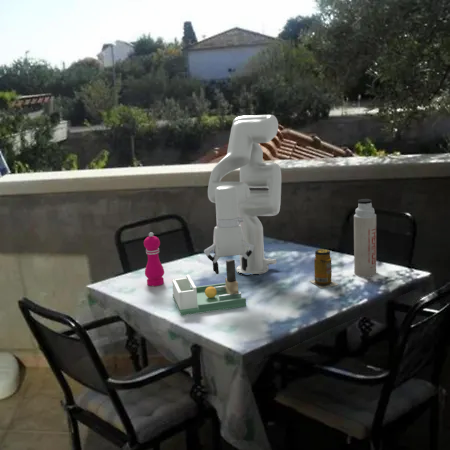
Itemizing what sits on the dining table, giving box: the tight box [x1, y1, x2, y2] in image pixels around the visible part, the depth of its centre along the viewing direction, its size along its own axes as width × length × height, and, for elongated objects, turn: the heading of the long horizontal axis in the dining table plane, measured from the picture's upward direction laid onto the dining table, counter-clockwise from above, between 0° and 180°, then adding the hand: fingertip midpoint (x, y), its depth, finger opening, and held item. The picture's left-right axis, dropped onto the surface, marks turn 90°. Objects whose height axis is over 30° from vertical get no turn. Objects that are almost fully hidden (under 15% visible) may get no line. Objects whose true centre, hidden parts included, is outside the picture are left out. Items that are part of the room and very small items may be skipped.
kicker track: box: [214, 285, 242, 301], centre depth 218 cm, size 8×10×2 cm
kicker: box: [224, 259, 239, 294], centre depth 217 cm, size 3×6×12 cm, turn 13°
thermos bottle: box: [353, 198, 377, 278], centre depth 232 cm, size 8×8×28 cm
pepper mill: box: [143, 232, 165, 287], centre depth 236 cm, size 7×7×20 cm
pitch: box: [172, 282, 247, 316], centre depth 217 cm, size 22×18×3 cm
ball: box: [205, 286, 217, 298], centre depth 217 cm, size 4×4×4 cm
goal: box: [171, 274, 198, 310], centre depth 215 cm, size 6×14×7 cm, turn 13°
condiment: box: [309, 248, 339, 289], centre depth 227 cm, size 7×8×12 cm
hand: (230, 271), depth 216 cm, fingers open, 9 cm apart
